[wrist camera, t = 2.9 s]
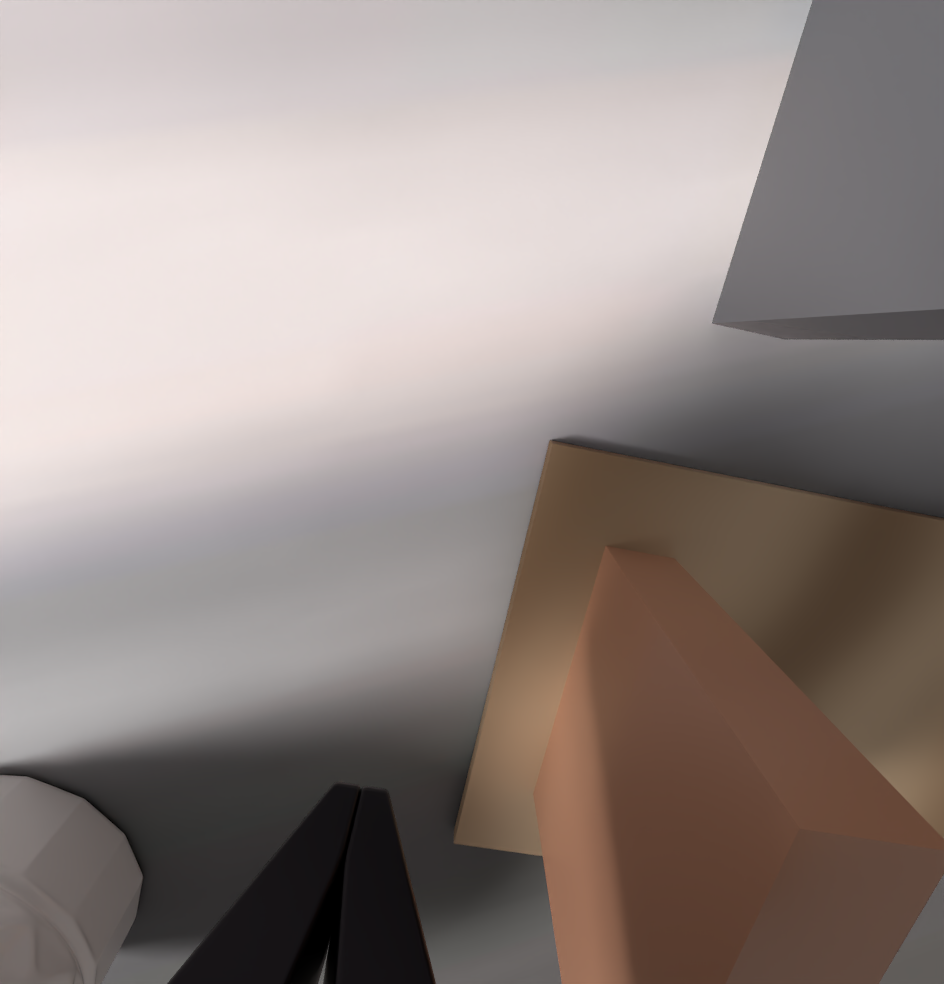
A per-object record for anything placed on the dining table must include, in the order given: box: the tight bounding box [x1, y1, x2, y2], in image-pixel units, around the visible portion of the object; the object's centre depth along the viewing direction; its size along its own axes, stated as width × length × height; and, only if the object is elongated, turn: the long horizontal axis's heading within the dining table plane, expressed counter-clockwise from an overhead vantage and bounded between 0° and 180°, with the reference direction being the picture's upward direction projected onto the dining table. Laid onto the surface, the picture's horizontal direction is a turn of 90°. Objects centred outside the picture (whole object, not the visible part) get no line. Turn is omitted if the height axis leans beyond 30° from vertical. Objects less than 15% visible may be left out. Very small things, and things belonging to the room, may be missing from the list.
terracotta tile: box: [533, 546, 944, 984], centre depth 9 cm, size 2×7×7 cm, turn 168°
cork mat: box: [454, 440, 944, 856], centre depth 13 cm, size 13×11×1 cm
